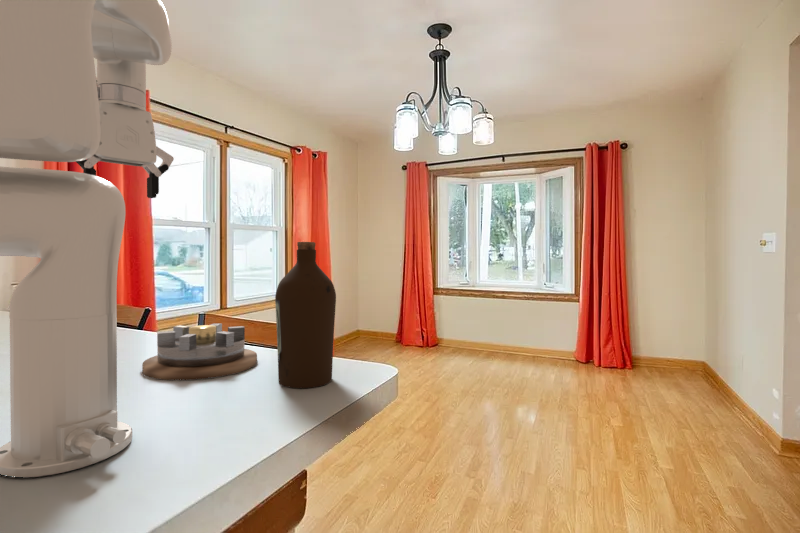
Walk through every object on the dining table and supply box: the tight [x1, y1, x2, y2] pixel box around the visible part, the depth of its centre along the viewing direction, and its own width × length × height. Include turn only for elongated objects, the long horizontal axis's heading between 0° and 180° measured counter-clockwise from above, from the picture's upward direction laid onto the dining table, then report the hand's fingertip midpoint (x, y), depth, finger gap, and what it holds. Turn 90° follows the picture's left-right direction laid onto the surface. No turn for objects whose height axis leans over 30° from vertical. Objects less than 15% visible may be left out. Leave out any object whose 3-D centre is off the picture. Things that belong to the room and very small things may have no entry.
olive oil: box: [274, 241, 337, 389], centre depth 77 cm, size 11×11×25 cm
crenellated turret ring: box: [156, 322, 246, 367], centre depth 87 cm, size 16×16×6 cm
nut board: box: [141, 348, 258, 381], centre depth 87 cm, size 21×21×2 cm
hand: (123, 195), depth 80 cm, fingers open, 9 cm apart
